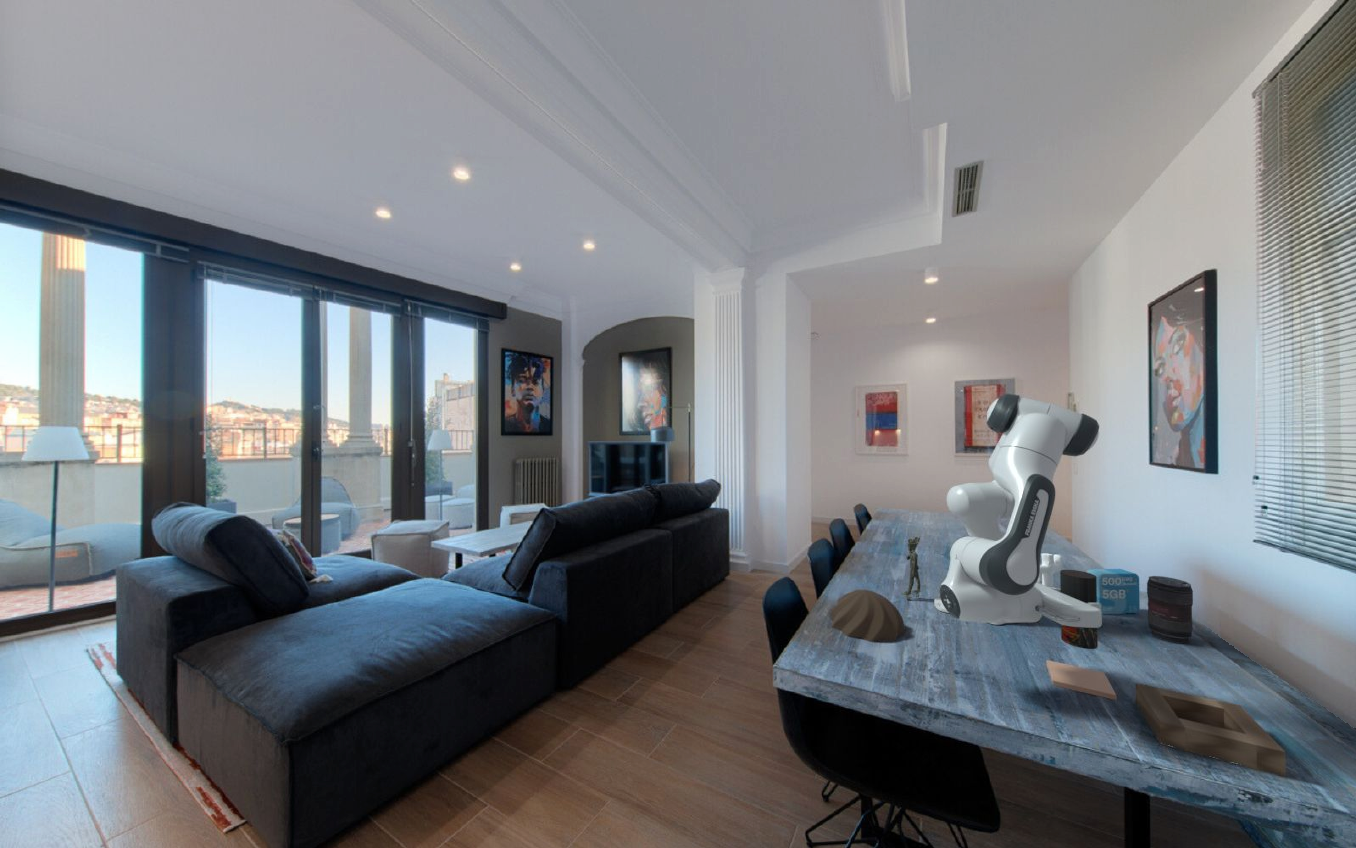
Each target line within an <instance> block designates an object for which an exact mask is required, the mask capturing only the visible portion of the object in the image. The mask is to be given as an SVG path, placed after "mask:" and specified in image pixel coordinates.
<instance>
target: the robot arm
mask: <svg viewBox="0 0 1356 848" xmlns="http://www.w3.org/2000/svg"><path fill="white" fill-rule="evenodd" d="M986 424H987V426H988V428H989V429H990V430H991V431H993V432H994V433H997V434H998V435H1001V434H1002V435H1001V436H1000V438H999V440H998V442H997V444H996V446H995V447H994V450H993V451H992V454H991V455H990V457H989V459H988V461H987V462H988V463H987V464H988V468H989V470H990V472H991V474H992V476H993V478H994V479H993V480H992V481H988V482H967V483H960V484H958V485H953V486H952V487H950V489H949V490H948V492H947V494H946V498H945V499H946V504H947V505H946V506H947V508H948V510H949V512H950V513H951V514H952V515H953V516H954V517H956V518H957V519H958V520H959V521H960V522H961V523H962V525H964V528H965V529H966V532H967V533H968V535H964V536H961V537H959V538H958V539H956V540H955V541H954V542H953V543H952V545H951V547H950V550H949V567H948V571H947V575H946V578H945V579H944V580H943V581H942V583H941V584H940V586H939V594H938V595H936V596H934V602H933V604H934V607H935V608H936V609H937V610H938V611H940V612H943V613H948V614H949V615H951V616H952V617H954V619H957V620H959V621H963V622H968V623H979V624H980V623H981V624H983V623H984V624H990V625H991V624H992V625H996V626H1001V625H1004V624H1015V623H1036V622H1039V621H1040V620H1041V619H1042V617H1043V616H1044V617H1046V618H1047V619H1050V620H1051V621H1054V622H1056V623H1057V624H1059V625H1061V624H1062V625H1066V626H1071V627H1085V628H1097V629H1099V628H1101V626H1102V625H1103V614H1102V612H1101V604H1099V603H1097V602H1094V601H1087V603H1084V602H1082V601H1080V600H1077V599H1075V598H1073V597H1070V596H1068V595H1066V594H1063V593H1061V589H1060V588H1057V587H1054V588H1052V587H1047V586H1044V585H1042V583H1037V580H1038V578H1039V573H1040V565H1041V554H1042V548H1043V545H1044V541H1045V537H1046V533H1047V531H1048V528H1049V524H1050V520H1051V516H1052V514H1053V509H1054V505H1055V502H1056V501H1055V500H1056V487H1055V485H1054V483H1053V479H1054V475H1055V473H1056V471H1057V469H1058V466H1059V463H1060V462H1061V458H1062V456H1067V457H1079V456H1082V455H1085V454H1086V453H1087V452H1088V451H1089V450H1091V449H1092V448H1093V447H1094V446H1095V445H1096V443H1097V441H1098V438H1099V435H1100V431H1099V430H1100V424H1099V422H1098V421H1097V419H1095V418H1093V417H1092V416H1090V415H1087V414H1085V413H1079V412H1076V411H1074V410H1072V409H1069V408H1066V407H1064V406H1061V405H1058V404H1054V403H1049V402H1045V401H1041V400H1037V399H1033V398H1028V397H1021V396H1020V395H1018V394H1012V393H1004V394H1003V395H1002V394H1001V395H999V396H998V398H996V399H995V400H994V401H993V402H992V403H991V404H990V405H989V407H988V409H987V412H986ZM999 520H1009V522H1008V525H1007V529H1006V532H1005V533H1004V532H1002V530H1001V527H1000V525H999Z"/></svg>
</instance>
